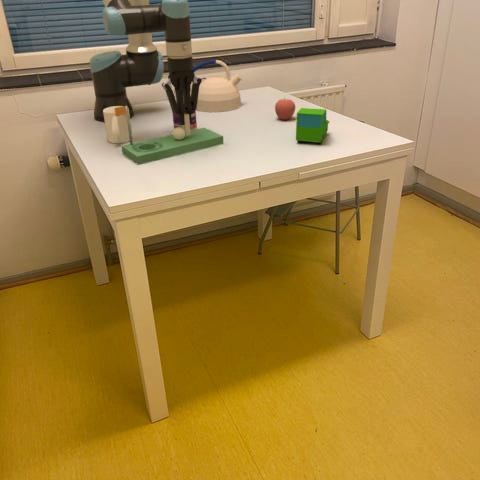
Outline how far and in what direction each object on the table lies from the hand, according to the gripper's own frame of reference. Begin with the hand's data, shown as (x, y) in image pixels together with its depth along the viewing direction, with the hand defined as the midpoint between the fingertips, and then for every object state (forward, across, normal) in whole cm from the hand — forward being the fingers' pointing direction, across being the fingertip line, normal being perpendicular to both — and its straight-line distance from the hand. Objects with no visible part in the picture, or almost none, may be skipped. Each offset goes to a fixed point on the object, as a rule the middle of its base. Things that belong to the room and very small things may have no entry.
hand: (186, 134), depth 153 cm
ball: (-1, -1, 0) cm, 2 cm away
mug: (+4, -16, +18) cm, 24 cm away
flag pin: (+1, -18, +5) cm, 19 cm away
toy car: (+4, +36, -20) cm, 41 cm away
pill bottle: (+4, +7, +14) cm, 16 cm away
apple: (+4, +43, +2) cm, 43 cm away
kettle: (+4, +34, +36) cm, 50 cm away
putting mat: (+4, -5, 0) cm, 6 cm away
